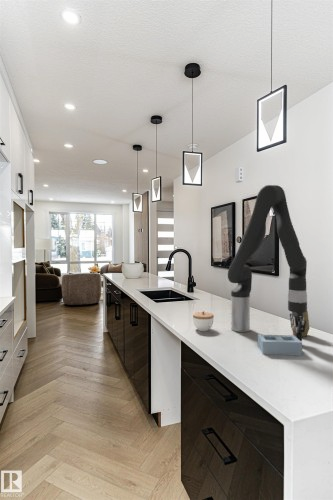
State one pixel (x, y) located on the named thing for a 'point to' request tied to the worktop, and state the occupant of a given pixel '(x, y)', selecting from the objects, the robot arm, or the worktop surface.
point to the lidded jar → (203, 320)
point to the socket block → (280, 344)
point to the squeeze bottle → (306, 324)
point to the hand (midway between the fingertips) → (297, 339)
